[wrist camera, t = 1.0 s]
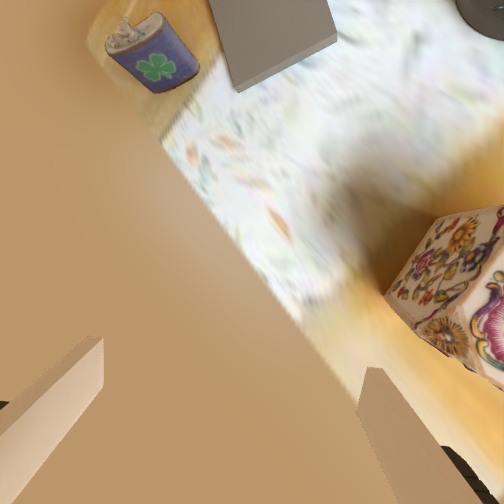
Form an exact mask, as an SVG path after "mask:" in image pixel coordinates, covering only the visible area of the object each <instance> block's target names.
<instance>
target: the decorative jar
mask: <svg viewBox="0 0 504 504" xmlns="http://www.w3.org/2000/svg"><path fill="white" fill-rule="evenodd" d="M384 299H385V300H386V302H387V303H388V304H389V306H390V307H391V308H392V309H393V310H394V311H395V312H396V313H397V315H398V316H399V317H400V318H401V319H402V320H403V321H404V322H405V323H406V324H407V325H408V326H409V327H410V328H411V330H413V331H414V333H415V334H417V336H418V337H419V338H421V339H423V340H424V341H426V342H427V343H429V344H430V345H432V346H433V347H435V348H436V349H438V350H439V351H440V352H442V353H443V354H444V355H446V356H447V357H453V358H456V359H457V360H459V361H460V362H461V363H463V365H464V366H465V368H467V369H468V370H470V371H472V372H475V373H477V374H479V375H481V376H482V377H484V378H485V379H487V380H489V381H490V382H491V383H492V384H493V385H495V386H496V387H497V388H499V389H500V390H502V391H504V205H499V206H492V207H486V208H479V209H475V210H469V211H464V212H460V213H456V214H451V215H447V216H444V217H440V218H438V219H436V220H435V222H434V223H433V224H432V226H431V227H430V228H429V230H428V232H427V233H426V235H425V236H424V238H423V239H422V241H421V242H420V243H419V245H418V246H417V248H416V249H415V251H414V252H413V254H412V255H411V256H410V258H409V259H408V261H407V262H406V264H405V265H404V267H403V268H402V270H401V271H400V273H399V274H398V276H397V277H396V279H395V280H394V282H393V283H392V285H391V286H390V288H389V289H388V291H387V292H386V294H385V296H384Z"/></svg>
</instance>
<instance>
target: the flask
mask: <svg viewBox="0 0 504 504" xmlns="http://www.w3.org/2000/svg"><path fill="white" fill-rule="evenodd" d="M120 20H123V21H124V23H122V24H119V27H118V28H119V31H118V32H119V33H117V34H111V35H110V36H109V38H108V39H107V41H106V43H105V50H106V52H107V54H108V55H109V56H110V57H112V58H113V59H114V60H115V61H117V62H118V63H119V64H120V65H121V66H122V67H123V68H125V69H126V70H127V71H128V72H130V73H131V74H132V75H133V76H134V77H135V78H136V79H138V80H139V81H140V82H141V83H142V84H143V85H145V86H146V87H147V88H148V89H149V90H150V91H152V92H153V93H155V94H160V93H163V92H167V91H170V90H172V89H175V88H176V87H177V86H180V85H182V84H184V83H185V82H188V81H189V80H190V79H192V78H193V77H194V76H196V75H197V73H199V70H200V67H199V63H198V61H197V59H196V58H195V57H194V56H193V54H192V53H191V52H190V51H189V49H188V48H187V47H186V45H185V44H184V43H183V42H182V40H181V39H180V38H179V36H178V35H177V34H176V32H175V31H174V30H173V28H172V27H171V26H170V24H169V22H168V21H167V19H166V18H165V17H164V16H163V15H162V14H161V13H159V12H155V13H153V14H151V15H150V16H149V17H147V18H146V19H145V20H144V21H142V22H140V23H139V24H138V25H136V26H134V27H132V26H131V25H130V24H128V18H127V17H121V19H120Z"/></svg>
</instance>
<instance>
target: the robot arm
mask: <svg viewBox="0 0 504 504" xmlns="http://www.w3.org/2000/svg"><path fill="white" fill-rule="evenodd" d="M456 2H457V5H458V8H459V10H460V12H461V14H462V16H463V17H464V19H465V20H466V21H467V22H468V23H469V24H470V25H471V26H472V27H473V28H474V29H476V30H477V31H479V32H480V33H482V34H484V35H486V36H489V37H492V38H495V39H499V40H504V0H456ZM103 373H104V372H103V338H101V337H92V336H87V337H86V338H85V339H84V340H82V341H81V342H80V343H79V344H78V345H76V346H75V347H74V348H73V349H72V350H71V351H69V352H68V353H67V354H66V355H65V356H64V357H62V358H61V359H60V360H59V361H58V362H56V363H55V364H54V365H53V366H52V367H51V368H49V369H48V370H47V371H46V372H45V373H44V374H42V375H41V376H40V377H39V378H38V379H37V380H35V381H34V382H33V383H32V384H31V385H30V386H28V387H27V388H26V389H25V390H24V391H22V392H21V393H20V394H19V395H18V396H16V397H15V398H14V399H13V400H12V401H11V402H6V401H0V504H12V502H13V501H14V500H15V499H16V497H17V496H18V495H19V493H20V492H21V491H22V490H23V488H24V487H25V486H26V485H27V483H28V482H29V480H30V479H31V478H32V477H33V475H34V474H35V473H36V472H37V470H38V469H39V468H40V467H41V465H42V464H43V463H44V461H45V460H46V459H47V457H48V456H49V455H50V454H51V453H52V451H53V450H54V449H55V448H56V446H57V445H58V443H59V442H60V441H61V440H62V439H63V437H64V436H65V435H66V433H67V432H68V431H69V430H70V428H71V427H72V426H73V425H74V423H75V422H76V421H77V419H78V418H79V417H80V416H81V414H82V413H83V412H84V410H85V409H86V408H87V407H88V405H89V404H90V403H91V402H92V400H93V399H94V398H95V396H96V395H97V394H98V393H99V391H100V390H101V389H102V387H103V386H104V383H103V382H104V379H103V378H104V374H103ZM356 414H357V416H358V418H359V420H360V422H361V424H362V427H363V429H364V431H365V433H366V435H367V437H368V439H369V442H370V444H371V446H372V448H373V450H374V452H375V454H376V456H377V459H378V460H379V462H380V465H381V467H382V469H383V471H384V473H385V475H386V478H387V480H388V482H389V484H390V486H391V488H392V490H393V492H394V495H395V497H396V499H397V501H398V503H399V504H499V503H498V501H497V500H496V499H495V498H494V496H493V495H491V494H490V493H489V490H488V489H487V487H486V486H485V485H484V484H483V482H482V481H481V480H479V479H478V476H477V475H476V474H475V472H474V471H473V470H472V469H471V467H470V466H469V465H468V464H467V462H466V461H465V460H464V459H463V458H461V457H460V456H459V455H458V454H457V453H456V452H455V451H453V450H452V449H451V448H450V447H448V446H440V445H439V444H438V442H437V441H436V440H435V438H434V437H433V436H432V434H431V433H430V432H429V430H428V429H427V428H426V426H425V425H424V424H423V422H422V421H421V420H420V418H419V417H418V416H417V414H416V413H415V412H414V410H413V409H412V408H411V406H410V405H409V403H408V402H407V401H406V399H405V398H404V397H403V395H402V394H401V393H400V391H399V390H398V389H397V387H396V386H395V385H394V383H393V382H392V381H391V379H390V378H389V377H388V375H387V374H386V373H385V371H384V370H383V369H382V368H374V367H367V370H366V374H365V378H364V382H363V387H362V391H361V395H360V399H359V403H358V407H357V411H356Z"/></svg>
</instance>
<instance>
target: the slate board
mask: <svg viewBox="0 0 504 504" xmlns="http://www.w3.org/2000/svg"><path fill="white" fill-rule="evenodd" d="M209 3H210V6H211V9H212V13H213V16H214V19H215V23H216V26H217V29H218V33H219V36H220V39H221V43H222V46H223V49H224V53H225V56H226V59H227V62H228V66H229V69H230V72H231V76H232V79H233V82H234V86H235V88H236V90H237V91H238V93H240V92H242V91H244V90H246V89H248V88H249V87H251V86H253V85H255V84H257V83H259V82H261V81H263V80H265V79H267V78H269V77H270V76H272V75H274V74H276V73H278V72H280V71H282V70H284V69H286V68H288V67H290V66H291V65H293V64H295V63H297V62H299V61H301V60H303V59H305V58H307V57H309V56H310V55H312V54H314V53H316V52H318V51H320V50H322V49H324V48H326V47H328V46H330V45H331V44H333V43H335V42H337V30H336V27H335V24H334V21H333V18H332V15H331V12H330V9H329V6H328V3H327V0H209Z"/></svg>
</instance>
